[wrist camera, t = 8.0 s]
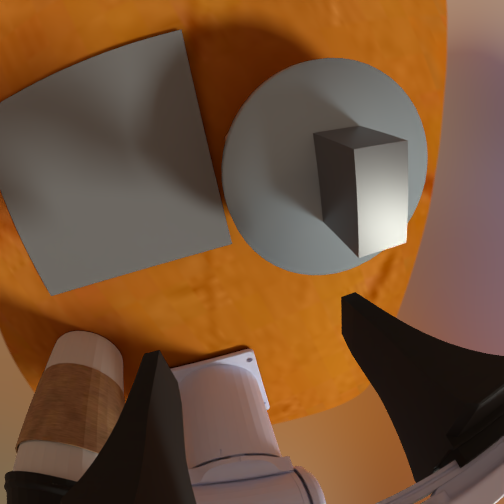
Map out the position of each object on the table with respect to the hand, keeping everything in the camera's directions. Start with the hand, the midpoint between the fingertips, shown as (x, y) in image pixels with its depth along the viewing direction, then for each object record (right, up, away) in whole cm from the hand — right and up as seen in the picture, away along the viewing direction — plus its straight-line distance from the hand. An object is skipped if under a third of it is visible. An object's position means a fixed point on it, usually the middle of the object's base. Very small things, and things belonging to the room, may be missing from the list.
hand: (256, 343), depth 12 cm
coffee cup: (-13, -5, +11) cm, 18 cm away
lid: (+4, +7, +3) cm, 9 cm away
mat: (-9, +8, +4) cm, 13 cm away
